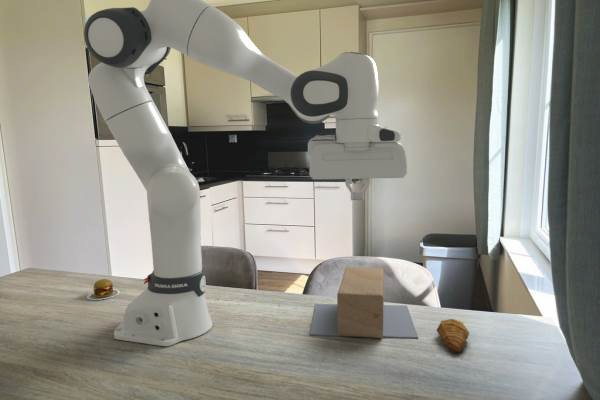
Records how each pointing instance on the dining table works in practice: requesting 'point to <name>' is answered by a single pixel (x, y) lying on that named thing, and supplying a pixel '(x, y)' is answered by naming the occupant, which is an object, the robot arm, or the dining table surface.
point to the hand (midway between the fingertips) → (357, 200)
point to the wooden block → (361, 302)
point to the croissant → (453, 334)
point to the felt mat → (326, 324)
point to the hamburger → (103, 289)
